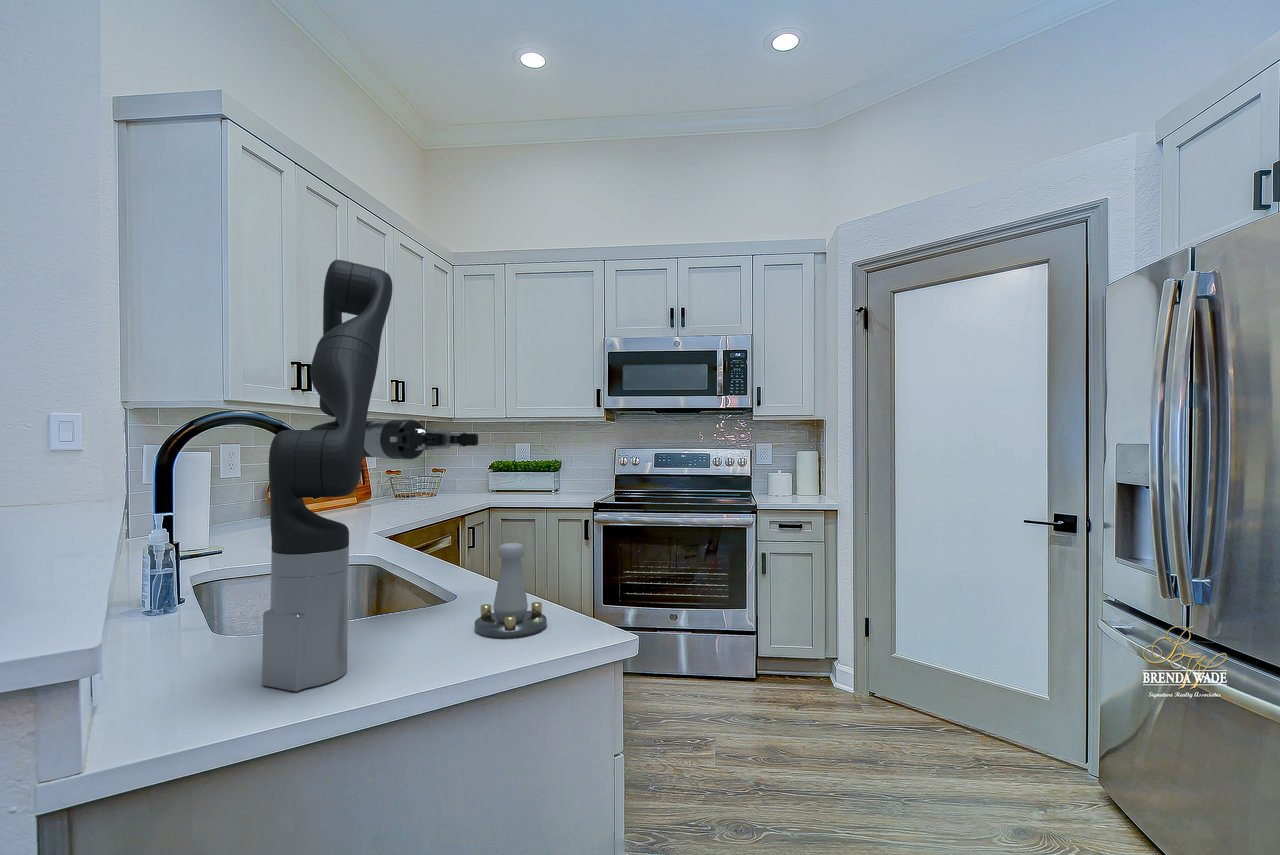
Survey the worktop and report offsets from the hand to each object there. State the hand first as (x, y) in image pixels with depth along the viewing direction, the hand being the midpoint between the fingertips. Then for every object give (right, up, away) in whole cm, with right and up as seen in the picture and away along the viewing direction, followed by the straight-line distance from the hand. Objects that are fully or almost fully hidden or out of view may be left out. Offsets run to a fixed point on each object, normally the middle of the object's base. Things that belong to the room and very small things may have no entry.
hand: (461, 439), depth 108 cm
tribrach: (+10, -32, -5) cm, 34 cm away
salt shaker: (+10, -31, -5) cm, 33 cm away
